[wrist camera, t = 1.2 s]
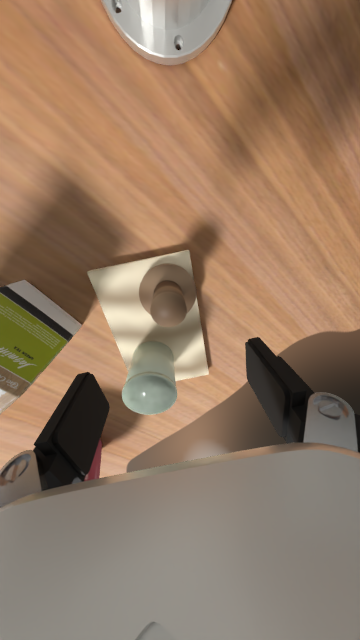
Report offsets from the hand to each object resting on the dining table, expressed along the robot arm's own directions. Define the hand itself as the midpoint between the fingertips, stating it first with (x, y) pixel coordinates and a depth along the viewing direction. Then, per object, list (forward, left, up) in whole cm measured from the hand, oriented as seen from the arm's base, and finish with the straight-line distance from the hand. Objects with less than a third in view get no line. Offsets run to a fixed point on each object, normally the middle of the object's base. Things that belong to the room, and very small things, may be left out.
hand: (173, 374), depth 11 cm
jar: (+11, -5, -17) cm, 21 cm away
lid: (0, 0, -17) cm, 17 cm away
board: (+6, -3, -18) cm, 19 cm away
